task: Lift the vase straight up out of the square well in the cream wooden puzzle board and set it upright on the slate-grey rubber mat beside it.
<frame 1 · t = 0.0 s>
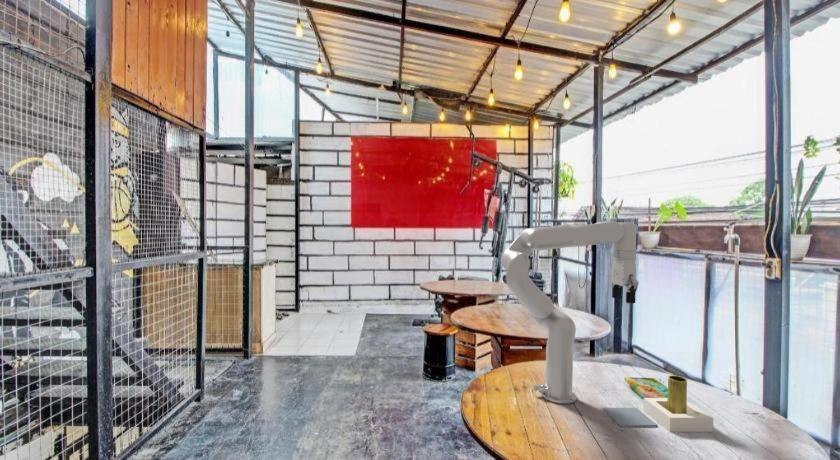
hand: (623, 300, 149), 37 cm above the table, tool pointing down, fingers open, 9 cm apart
well board: (676, 420, 133), on the table
puzzle game: (651, 398, 151), on the table
mat: (629, 417, 134), on the table
vase: (676, 421, 133), resting in well board
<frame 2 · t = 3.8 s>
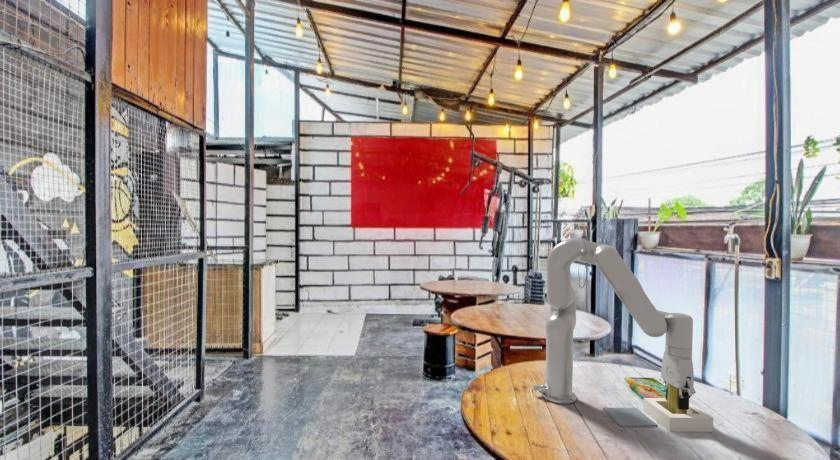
hand: (677, 404, 132), 6 cm above the table, tool pointing down, fingers closed on vase, 5 cm apart
vase: (676, 421, 133), resting in well board, touching gripper
everything else where it was.
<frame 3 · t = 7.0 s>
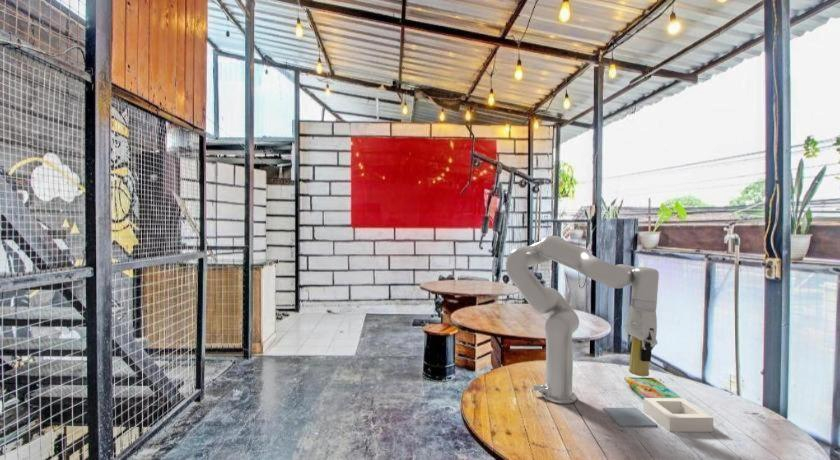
hand: (639, 357, 134), 21 cm above the table, tool pointing down, fingers closed on vase, 5 cm apart
vase: (638, 373, 134), point 15 cm above the table, touching gripper
everything else where it was.
when the fingers open (8 cm above the table, at t = 10.3 s): vase drops 2 cm, resting on mat.
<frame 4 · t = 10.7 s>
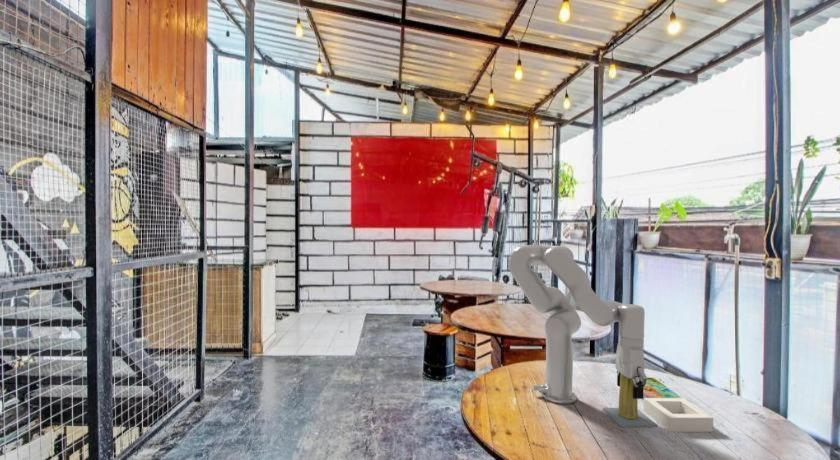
hand: (629, 392, 134), 9 cm above the table, tool pointing down, fingers open, 9 cm apart
vase: (627, 415, 134), resting on mat
everything else where it was.
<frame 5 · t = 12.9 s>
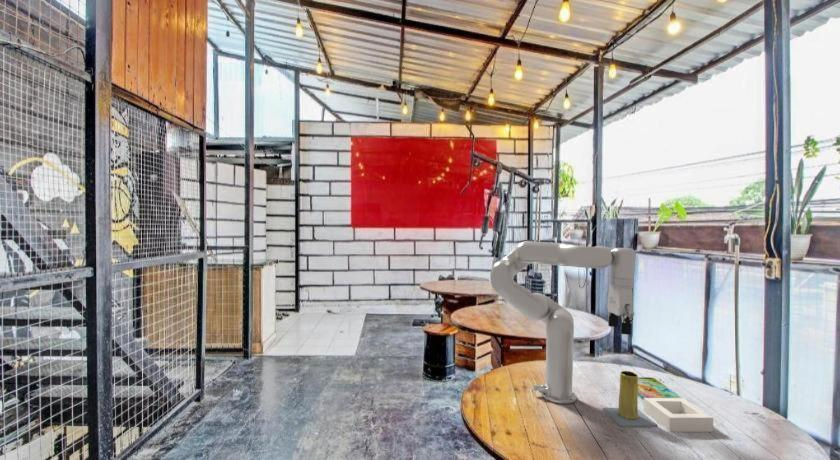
hand: (619, 330, 142), 28 cm above the table, tool pointing down, fingers open, 9 cm apart
nothing on the table moved.
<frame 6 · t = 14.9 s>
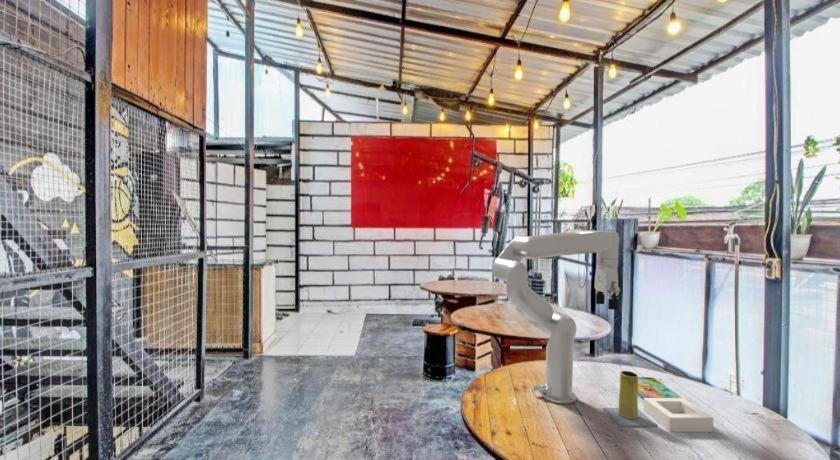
hand: (606, 306, 154), 33 cm above the table, tool pointing down, fingers open, 9 cm apart
nothing on the table moved.
at the end: vase inside the target area on the mat (0.4 cm from its centre), point 0.4 cm above the mat's base; vase tilted 0°; the gripper is holding nothing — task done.
